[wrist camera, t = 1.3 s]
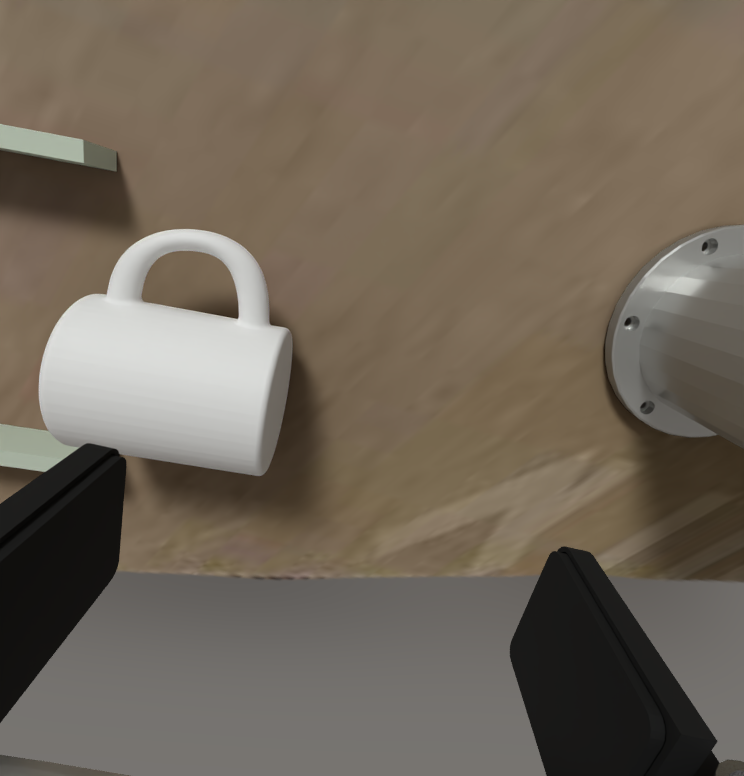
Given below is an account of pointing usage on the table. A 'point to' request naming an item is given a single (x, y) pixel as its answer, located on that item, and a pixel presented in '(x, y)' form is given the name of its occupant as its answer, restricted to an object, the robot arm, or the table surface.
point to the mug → (170, 367)
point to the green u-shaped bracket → (26, 443)
